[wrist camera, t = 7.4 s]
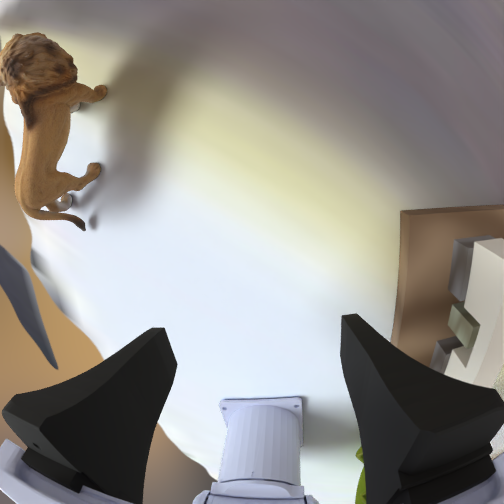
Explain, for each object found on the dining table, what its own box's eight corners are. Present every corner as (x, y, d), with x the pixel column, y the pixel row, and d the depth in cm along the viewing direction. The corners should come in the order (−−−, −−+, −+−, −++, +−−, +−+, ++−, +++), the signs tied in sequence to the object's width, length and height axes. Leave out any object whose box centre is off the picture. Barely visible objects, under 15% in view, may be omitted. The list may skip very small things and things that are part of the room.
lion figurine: (63, 63, 15) (-14, 47, 7) (113, 45, 15) (36, 9, 7) (67, 229, 20) (-9, 269, 12) (116, 228, 20) (37, 275, 11)
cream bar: (462, 382, 18) (479, 410, 15) (437, 390, 19) (453, 421, 15) (501, 238, 14) (536, 257, 10) (474, 241, 14) (510, 264, 11)
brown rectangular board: (475, 360, 22) (495, 388, 17) (382, 386, 23) (395, 424, 18) (508, 204, 16) (546, 219, 12) (400, 210, 18) (435, 229, 13)
